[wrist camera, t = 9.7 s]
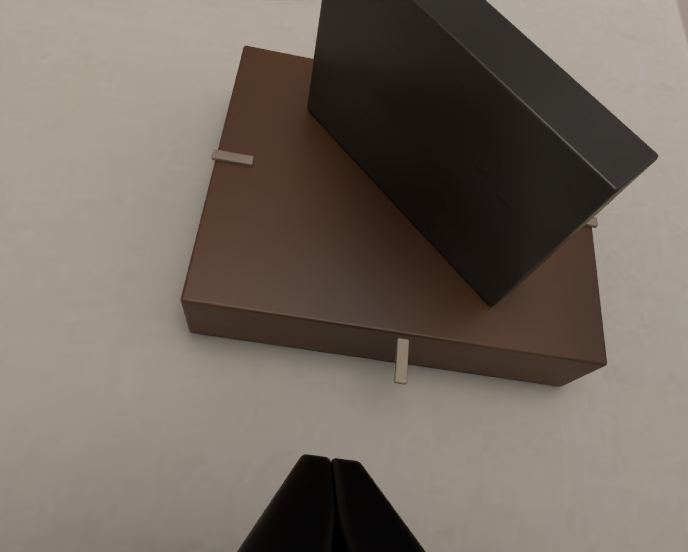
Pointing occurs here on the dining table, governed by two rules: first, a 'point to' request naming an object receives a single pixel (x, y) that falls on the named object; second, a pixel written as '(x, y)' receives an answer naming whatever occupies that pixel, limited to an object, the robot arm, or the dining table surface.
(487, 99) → the pointer
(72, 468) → the dining table surface
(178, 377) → the dining table surface
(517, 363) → the dial panel
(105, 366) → the dining table surface
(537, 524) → the dining table surface
